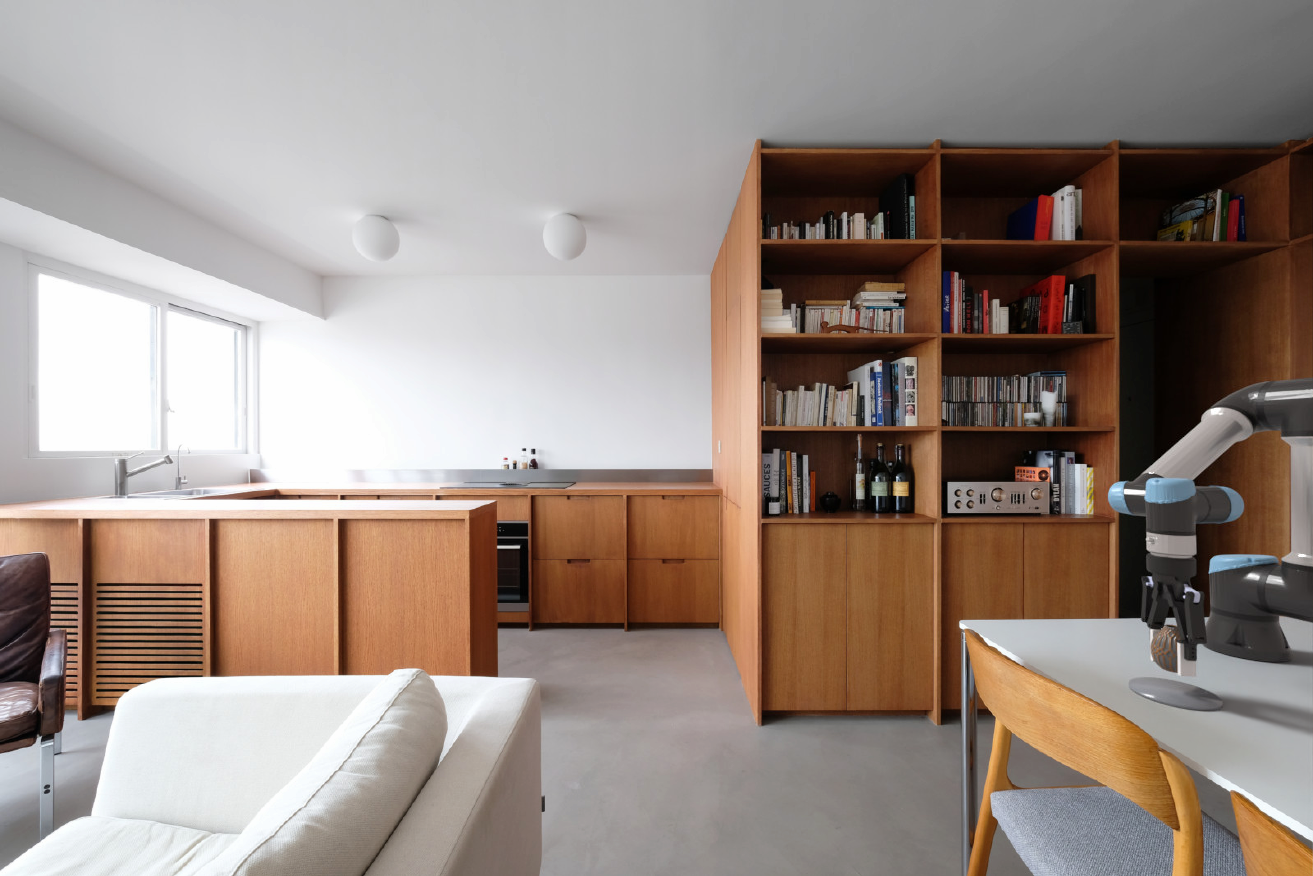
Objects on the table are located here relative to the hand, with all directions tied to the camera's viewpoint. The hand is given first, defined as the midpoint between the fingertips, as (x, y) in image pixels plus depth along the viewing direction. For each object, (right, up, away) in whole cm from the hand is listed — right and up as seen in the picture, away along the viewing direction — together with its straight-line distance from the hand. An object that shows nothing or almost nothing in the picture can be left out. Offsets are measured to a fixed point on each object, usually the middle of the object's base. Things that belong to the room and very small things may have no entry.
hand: (1172, 668), depth 115 cm
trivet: (0, -5, 0) cm, 5 cm away
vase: (0, -1, 0) cm, 1 cm away
